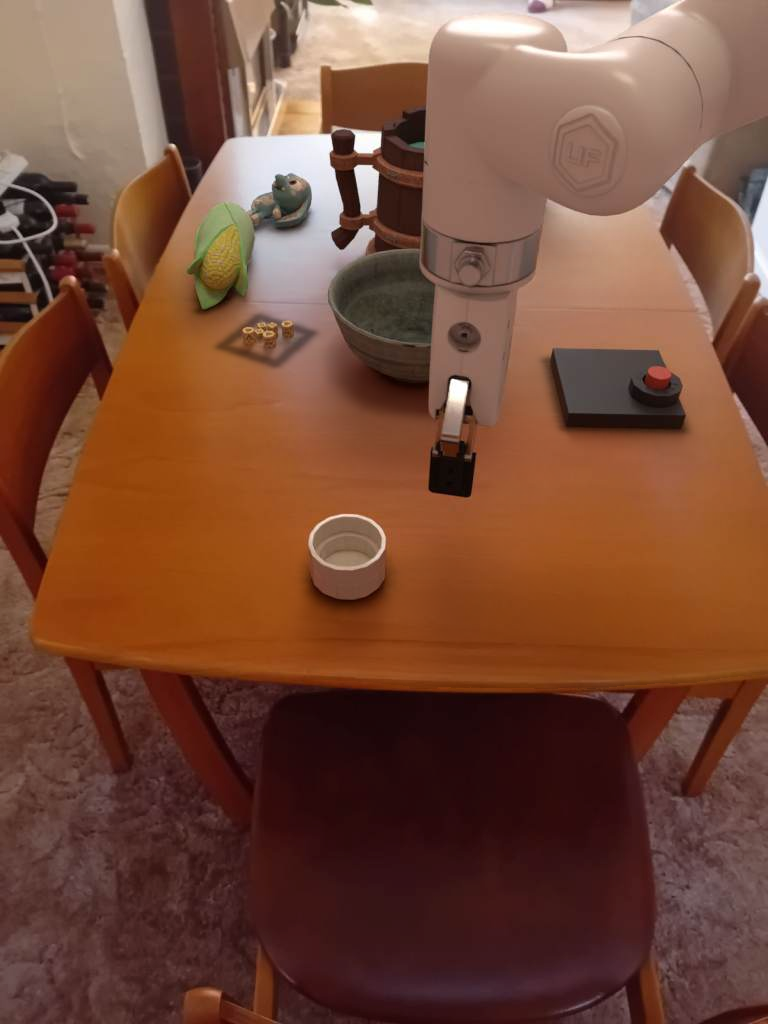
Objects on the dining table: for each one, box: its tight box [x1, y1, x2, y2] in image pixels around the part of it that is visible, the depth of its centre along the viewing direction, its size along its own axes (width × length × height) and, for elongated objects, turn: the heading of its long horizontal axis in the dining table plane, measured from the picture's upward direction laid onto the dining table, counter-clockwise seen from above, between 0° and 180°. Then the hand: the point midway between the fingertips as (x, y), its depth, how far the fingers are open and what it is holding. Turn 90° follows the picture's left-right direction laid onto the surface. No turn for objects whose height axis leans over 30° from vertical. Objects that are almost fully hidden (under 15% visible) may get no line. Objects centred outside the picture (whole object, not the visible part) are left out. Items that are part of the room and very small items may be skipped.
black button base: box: [549, 347, 687, 430], centre depth 92 cm, size 13×13×4 cm
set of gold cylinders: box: [242, 320, 295, 350], centre depth 100 cm, size 5×5×2 cm
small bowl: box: [307, 513, 387, 601], centre depth 71 cm, size 7×7×4 cm
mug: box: [328, 105, 426, 256], centre depth 107 cm, size 18×23×20 cm
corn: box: [186, 201, 256, 311], centre depth 110 cm, size 8×8×20 cm
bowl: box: [327, 249, 435, 384], centre depth 93 cm, size 21×21×10 cm
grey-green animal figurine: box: [246, 172, 313, 228], centre depth 123 cm, size 11×7×12 cm
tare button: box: [645, 366, 672, 390], centre depth 89 cm, size 3×3×2 cm
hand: (458, 451), depth 62 cm, fingers open, 9 cm apart
